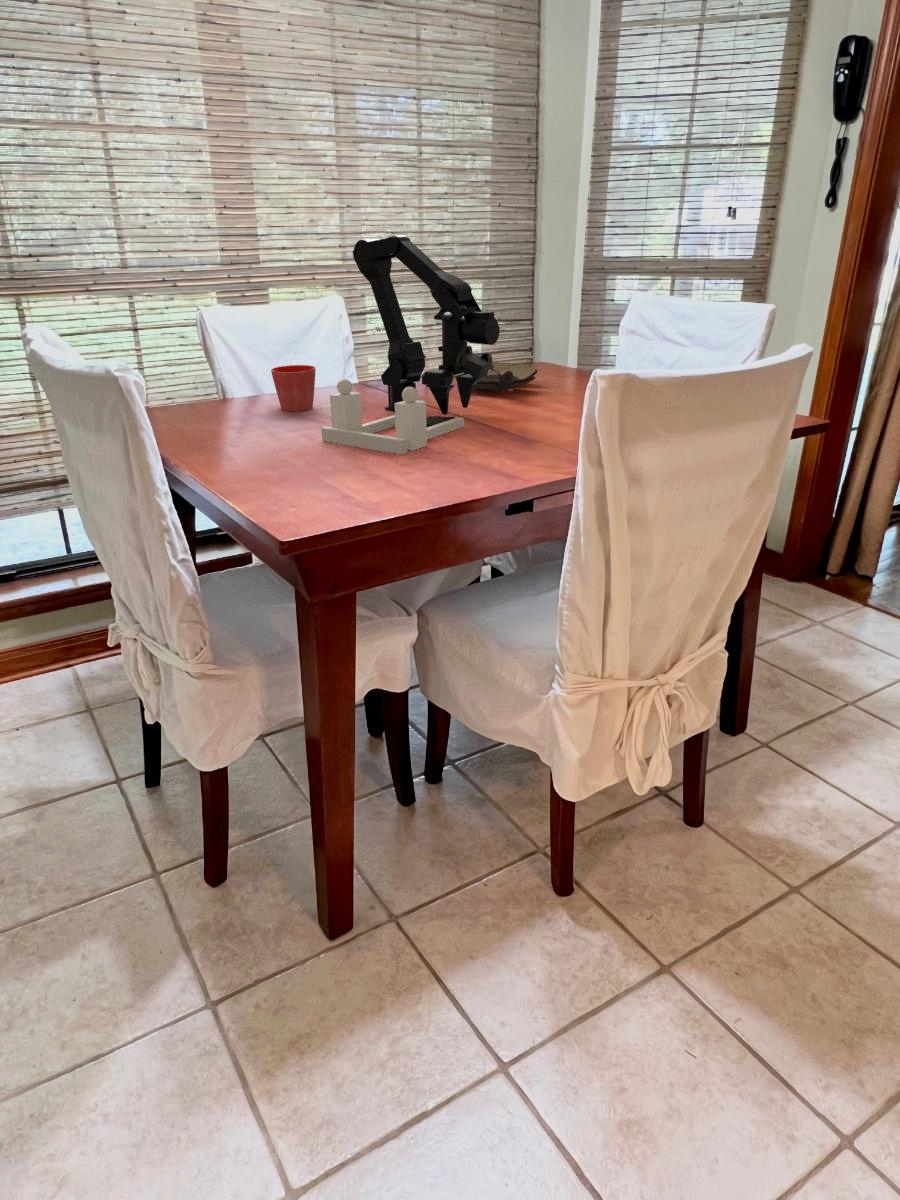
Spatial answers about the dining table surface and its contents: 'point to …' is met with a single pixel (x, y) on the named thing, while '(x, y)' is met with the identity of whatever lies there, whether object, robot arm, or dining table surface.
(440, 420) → the wood
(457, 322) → the robot arm
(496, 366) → the oil lamp
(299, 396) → the flower pot
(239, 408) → the dining table surface
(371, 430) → the twin knob post frame
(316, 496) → the dining table surface
